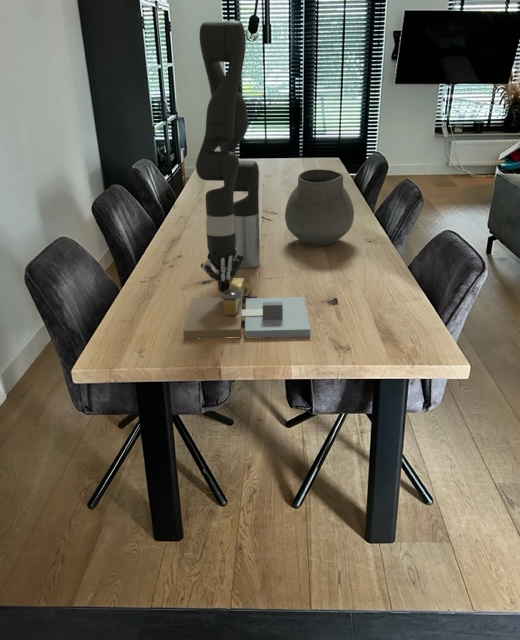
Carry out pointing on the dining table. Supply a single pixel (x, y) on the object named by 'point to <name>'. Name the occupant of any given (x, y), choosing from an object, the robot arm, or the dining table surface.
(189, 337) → the door mock-up
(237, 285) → the swing bar
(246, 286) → the pastry
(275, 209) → the dining table surface
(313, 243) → the ceramic pot
